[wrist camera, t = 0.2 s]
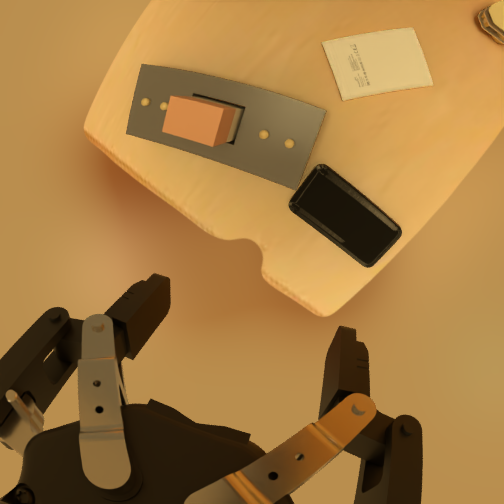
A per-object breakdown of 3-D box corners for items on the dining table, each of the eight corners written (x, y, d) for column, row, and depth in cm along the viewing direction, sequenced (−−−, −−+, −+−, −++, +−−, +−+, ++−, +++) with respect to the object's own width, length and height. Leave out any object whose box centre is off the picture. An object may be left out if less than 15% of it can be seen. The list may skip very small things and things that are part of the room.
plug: (210, 97, 36) (170, 95, 26) (252, 109, 35) (223, 108, 26) (203, 124, 38) (161, 131, 28) (243, 137, 37) (212, 146, 28)
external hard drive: (430, 86, 28) (342, 101, 33) (409, 29, 25) (321, 44, 30) (434, 85, 27) (342, 101, 31) (412, 26, 24) (321, 41, 28)
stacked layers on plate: (480, -13, 17) (495, -24, 12) (523, 31, 18) (541, 26, 13) (456, 21, 22) (472, 11, 17) (501, 67, 23) (521, 65, 18)
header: (161, 66, 35) (138, 63, 30) (326, 111, 33) (326, 110, 28) (145, 130, 40) (122, 134, 35) (300, 181, 38) (295, 192, 33)
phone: (320, 161, 36) (405, 232, 37) (320, 160, 37) (403, 229, 38) (284, 207, 40) (367, 271, 41) (286, 205, 41) (367, 267, 42)
